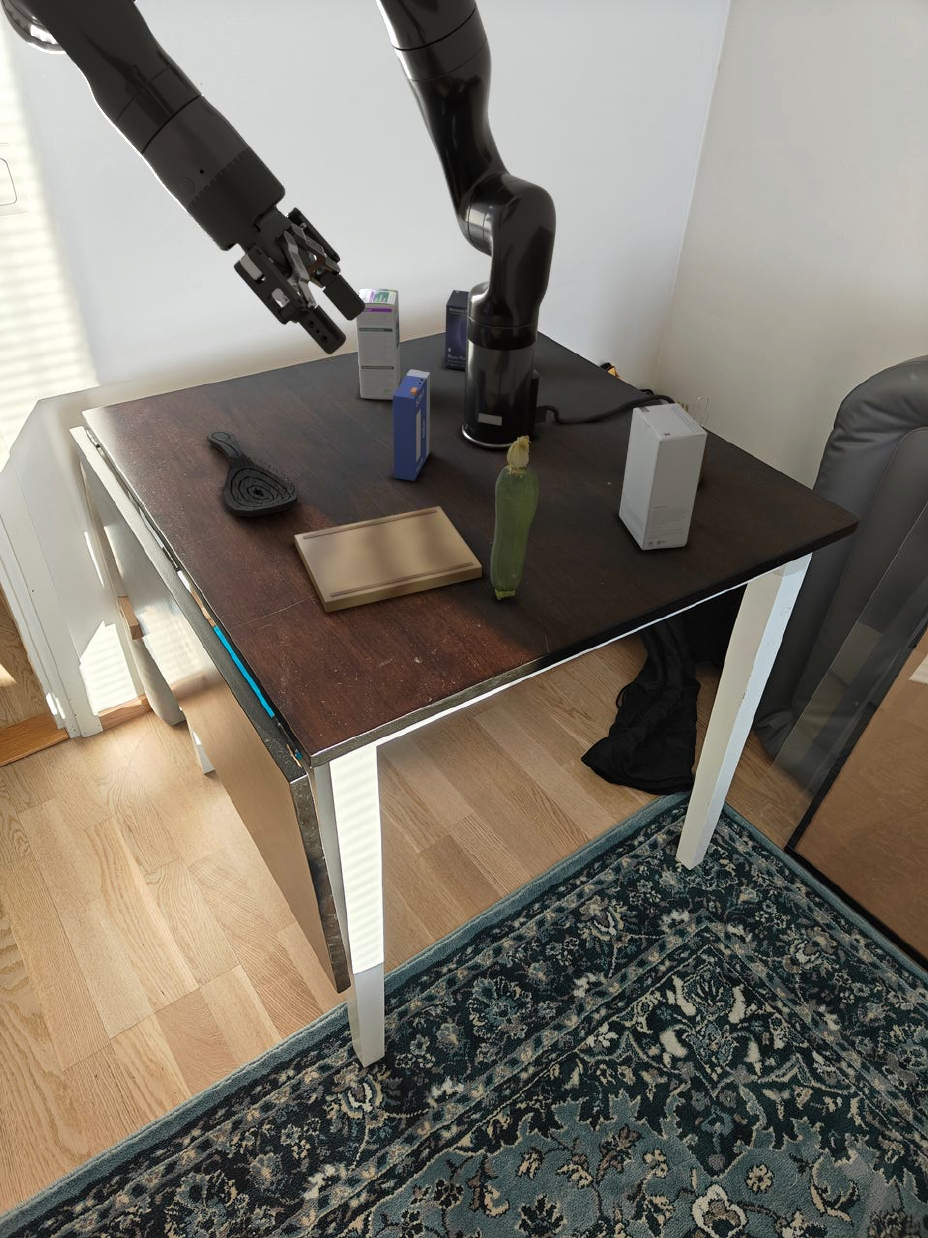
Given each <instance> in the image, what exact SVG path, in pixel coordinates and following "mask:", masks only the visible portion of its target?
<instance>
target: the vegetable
mask: <svg viewBox="0 0 928 1238" xmlns="http://www.w3.org/2000/svg"><path fill="white" fill-rule="evenodd" d="M517 439H518V440H517V441H515V442H514V444H512V445H511V447H510V448H509V449H507V454H506V460H507V463H508V464H507V465H506V466H505V467H504V468H502V470H501V471H500V472H499V474H498V476H497V479H496V482H495V489H494V494H495V495H494V497H495V502H494V503H495V505H494V508H495V509H494V511H495V512H494V513H495V521H494V533H493V541H492V542H493V543H492V547H491V554H490V565H489V566H490V570H489V571H490V572H489V573H490V577H489V578H490V582H491V585H492V587H493V589H494V592H495V595H496V598H497V600H498V601H500V600H502V598H507V597H514V596H515V594H516V590H517V588H518V587H519V585H520V584H521V581H522V575H523V571H524V565H525V559H526V554H527V544H528V538H529V533H530V529H531V525H532V522H533V520H534V517H535V515H536V510H537V506H538V501H539V494H540V485H539V481H538V480H539V479H538V476H537V473H536V471H535V470H534V469H533V468H532V466H531V465H529V458H530V455H529V453H530V450H529V449H530V444H532V442H531V441H530V439H529V436H522V437H520V438H517ZM529 443H530V444H529Z"/></svg>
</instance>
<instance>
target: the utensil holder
mask: <svg viewBox="0 0 928 1238" xmlns="http://www.w3.org/2000/svg"><path fill="white" fill-rule="evenodd" d="M700 399H701V400H700ZM704 399H706V403H708V402H709V403H710V404H709V410H708V411H709V412H708V415H707V418H706V420H705V421H704V423H703V425H701V423H702V420H703V417H704V416H705V412H706V409H707V405H708V404H705V407H704V410H703V414H702V416H701V420H700V422H699V423H698V424H699V425H700V426H701V427H702V428H703V429H704V430H705V431H706V432H707V438H706V443H705V448H704V453H703V458H702V463H701V469H700V474H699V479H698V484H699V483H700V482H701V480H702V479H703V475H704V471H705V468H706V467H705V466H706V462H707V458H708V451H709V450H708V445H707V444H708V442H709V431H708V429H707V428H706V427H704V426H705V424H706V423H707V421H708V418H709V415H710V414H711V413H710V412H711V409H712V401H711V399H710V398H708V397H707V396H699V397H698V400H700V403H699V404H698V407H697V409H696V412H695V416H694V418H693V419H694V420H695V421H696V418H697V415H698V411H699V408H700V405H701V404H702V401H704ZM676 403H678V404H680V406H681V407H682V408H683V409H684V410H685V411H686V412H687V413H688V414H689V404H688V403H687V404H685V402H680V400H677V402H676ZM696 403H697V400H695V402H694V404H693V406H692V408H691V412H690V414H689V415H690V416H691V417H692V414H693V410H694V407H695V404H696Z"/></svg>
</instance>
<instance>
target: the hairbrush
mask: <svg viewBox="0 0 928 1238" xmlns="http://www.w3.org/2000/svg"><path fill="white" fill-rule="evenodd" d="M206 439H207V442H208V443H209V444H210V445H211V446H212V447H214V448H216V449H218V450H220V451H221V452H222V454H224V455H225V456H226V458H227V459H228V460H229V461H228V462H229V463H228V471H227V474H226V479H225V482H224V486H223V496H224V502H225V505H226V507H227V509H228V511H230V512H231V513H232V514H234V515H235V516H238V517H239V516H240V517H249V518H251V517H257V516H264V515H269V514H274V513H277V512H281V511H285V510H288V509H290V508H293V507H294V506H297V505H298V500H299V497H298V492H297V491H296V488H295V484H294V483H293V481H291V479H290V478H289V477H288V476H287V477H286V475H285V474H283V472H280V475H283V478H285V477H286V480H287V481H285V480H284V479H282V477H279V476H278V474H279V472H278V469H275V468H274V467H273V472H271V471H270V468H271V464H268V467H267V469H266V468H265V464H266V462H264V467H262V466H260V465H258V464H257V463H256V462H254V461H253V460H252V459H251V457H250V456H248V455H246V453H244V451H243V450H242V448H241V447H240V445H239V444H238V442H237V440H236V437H235V434H234V433H233V432H231V431H228V430H212V431H210V432H209V433H208V434H206ZM254 460H256V457H254ZM259 462H262V460H259ZM274 471H275V472H276V473H277V474H276V473H274ZM288 481H289V482H290V481H291V483H289V482H288ZM292 486H293V487H292Z"/></svg>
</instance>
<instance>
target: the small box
mask: <svg viewBox="0 0 928 1238" xmlns="http://www.w3.org/2000/svg"><path fill="white" fill-rule="evenodd" d="M469 292H470V291H468V290H467V291H466V290H458V289H452V291H451V293H450V295H449V298H448V299H447V302H446V304H445V335H444V337H445V338H444V368H446V369H447V368H448V369H455V370H464V371H465V364H466V339H467V308H468V295H469Z"/></svg>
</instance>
